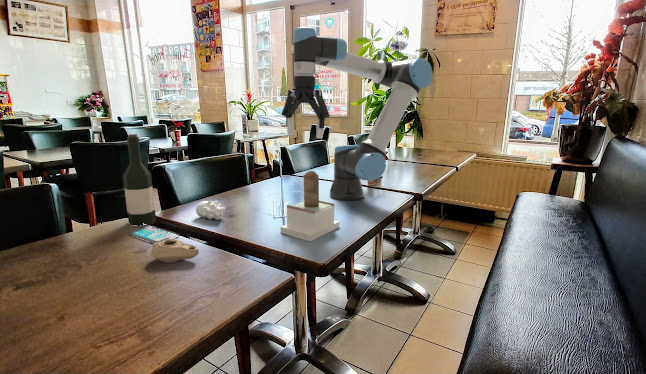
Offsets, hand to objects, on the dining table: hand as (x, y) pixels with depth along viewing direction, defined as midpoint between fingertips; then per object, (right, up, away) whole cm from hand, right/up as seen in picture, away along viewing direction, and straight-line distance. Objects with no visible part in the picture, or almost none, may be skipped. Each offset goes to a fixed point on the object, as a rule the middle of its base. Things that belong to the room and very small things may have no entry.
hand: (304, 136), depth 127 cm
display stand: (+3, -32, -12) cm, 35 cm away
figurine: (-33, -30, -2) cm, 45 cm away
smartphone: (-46, -34, -19) cm, 60 cm away
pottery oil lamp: (-32, -38, -36) cm, 61 cm away
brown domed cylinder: (+3, -24, -14) cm, 28 cm away
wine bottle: (-55, -31, -7) cm, 64 cm away
